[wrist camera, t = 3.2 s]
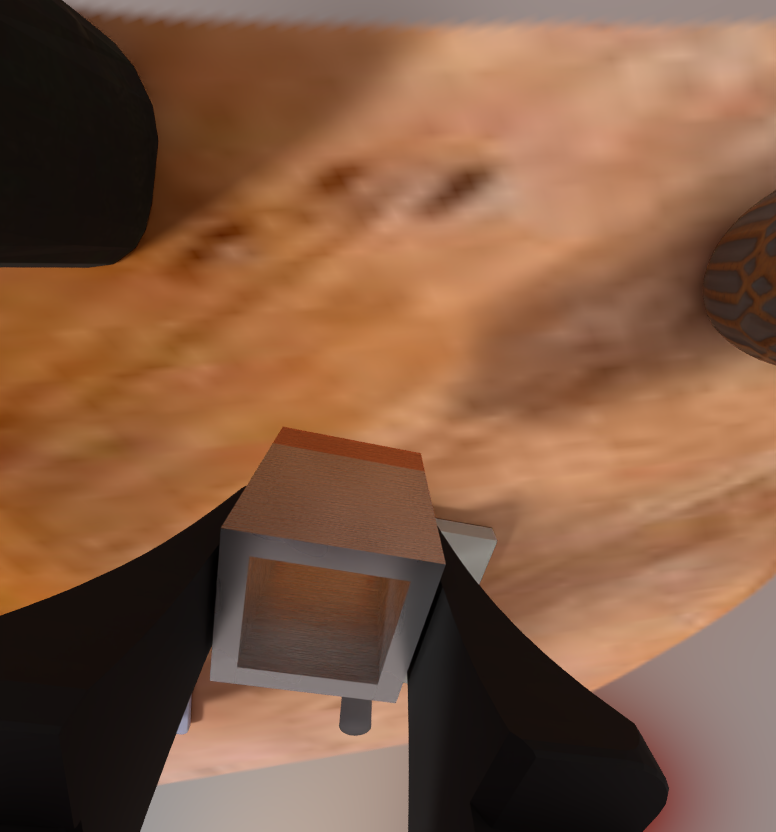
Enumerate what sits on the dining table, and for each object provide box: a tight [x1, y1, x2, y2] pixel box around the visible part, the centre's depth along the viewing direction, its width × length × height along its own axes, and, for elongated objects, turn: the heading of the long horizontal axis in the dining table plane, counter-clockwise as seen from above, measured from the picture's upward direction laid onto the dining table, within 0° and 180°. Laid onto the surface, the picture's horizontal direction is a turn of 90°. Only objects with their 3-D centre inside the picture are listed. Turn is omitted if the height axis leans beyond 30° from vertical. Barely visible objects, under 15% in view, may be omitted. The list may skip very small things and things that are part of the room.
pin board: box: [339, 518, 497, 736], centre depth 19 cm, size 11×12×5 cm
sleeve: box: [210, 427, 446, 703], centre depth 11 cm, size 5×5×5 cm
